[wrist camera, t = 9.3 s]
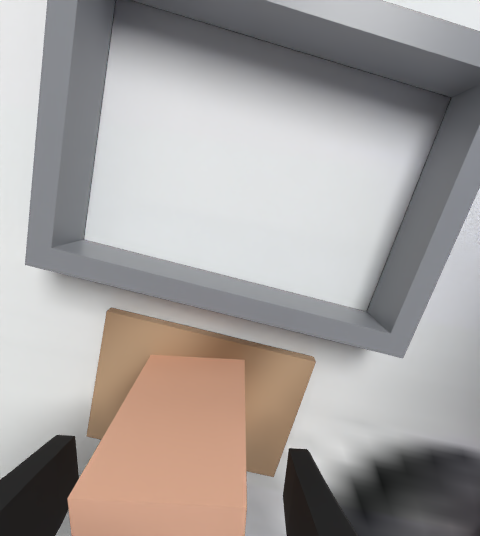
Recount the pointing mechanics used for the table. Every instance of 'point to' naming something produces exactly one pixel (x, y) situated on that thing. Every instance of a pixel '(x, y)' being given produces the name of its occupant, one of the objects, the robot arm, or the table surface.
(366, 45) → the gray rectangular frame
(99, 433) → the walnut pad
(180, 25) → the table surface
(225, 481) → the block
